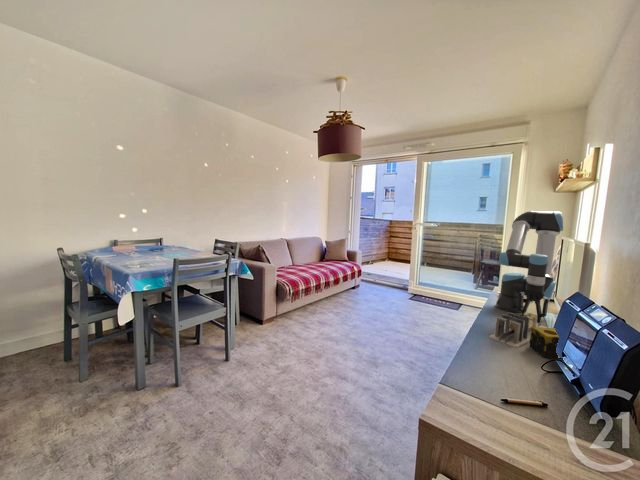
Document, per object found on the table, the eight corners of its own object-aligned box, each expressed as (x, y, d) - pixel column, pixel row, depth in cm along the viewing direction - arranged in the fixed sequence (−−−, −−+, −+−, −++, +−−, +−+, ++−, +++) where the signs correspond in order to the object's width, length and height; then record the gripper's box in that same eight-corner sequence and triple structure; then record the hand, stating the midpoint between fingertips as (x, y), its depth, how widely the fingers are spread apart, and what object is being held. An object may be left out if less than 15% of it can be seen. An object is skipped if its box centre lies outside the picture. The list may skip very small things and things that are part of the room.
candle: (551, 348, 126) (554, 327, 125) (569, 360, 116) (572, 337, 115) (528, 346, 127) (530, 326, 126) (543, 358, 117) (546, 335, 116)
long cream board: (524, 321, 157) (525, 316, 157) (550, 329, 147) (551, 324, 147) (489, 337, 135) (490, 331, 135) (517, 348, 125) (517, 341, 125)
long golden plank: (528, 320, 150) (529, 313, 149) (538, 323, 146) (539, 315, 146) (509, 328, 138) (510, 320, 137) (519, 332, 134) (521, 323, 134)
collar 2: (505, 332, 142) (507, 311, 141) (527, 340, 134) (529, 318, 133) (504, 332, 141) (507, 312, 140) (526, 340, 133) (528, 318, 132)
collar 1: (499, 334, 139) (502, 313, 137) (521, 342, 131) (524, 320, 129) (498, 335, 138) (501, 314, 137) (520, 343, 130) (523, 321, 129)
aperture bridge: (497, 336, 137) (499, 316, 135) (518, 344, 129) (520, 323, 128) (494, 337, 135) (496, 317, 134) (515, 345, 128) (518, 324, 127)
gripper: (513, 280, 149) (508, 321, 151) (553, 288, 134) (547, 334, 137) (519, 279, 153) (514, 319, 156) (559, 287, 139) (553, 331, 141)
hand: (530, 326), depth 146 cm, fingers closed on long golden plank, 4 cm apart
